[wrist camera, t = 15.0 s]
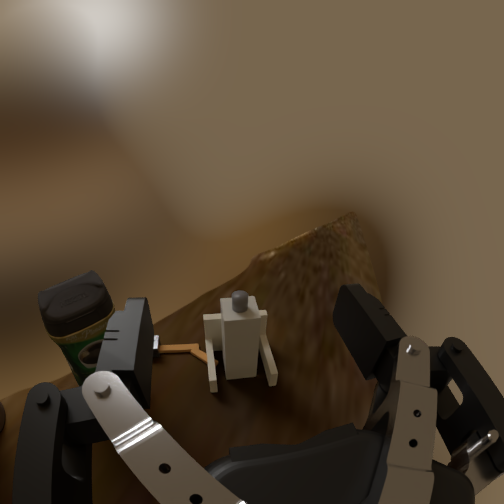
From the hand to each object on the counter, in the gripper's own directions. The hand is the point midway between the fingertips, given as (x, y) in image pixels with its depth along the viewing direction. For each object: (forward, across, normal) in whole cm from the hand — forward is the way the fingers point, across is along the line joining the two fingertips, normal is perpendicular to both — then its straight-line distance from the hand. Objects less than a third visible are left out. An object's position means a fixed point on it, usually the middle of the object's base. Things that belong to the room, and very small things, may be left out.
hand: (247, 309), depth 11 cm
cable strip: (+21, +5, +28) cm, 35 cm away
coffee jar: (+16, +17, +28) cm, 36 cm away
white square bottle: (+19, -3, +28) cm, 34 cm away
